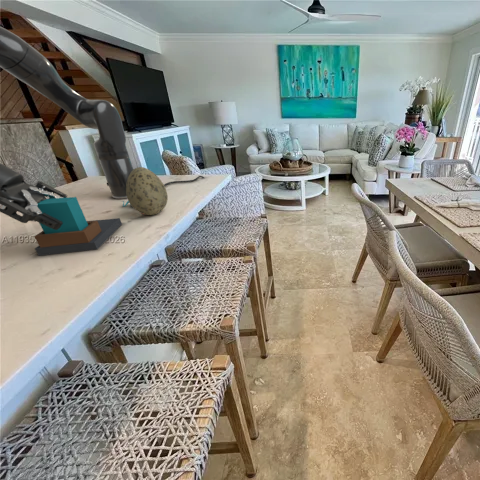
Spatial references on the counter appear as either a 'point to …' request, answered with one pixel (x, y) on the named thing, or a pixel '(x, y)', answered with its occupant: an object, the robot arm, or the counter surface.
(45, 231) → the teal rectangular block
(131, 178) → the decorative egg
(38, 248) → the brown tray on base
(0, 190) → the robot arm
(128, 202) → the dragon figurine
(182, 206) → the counter surface
